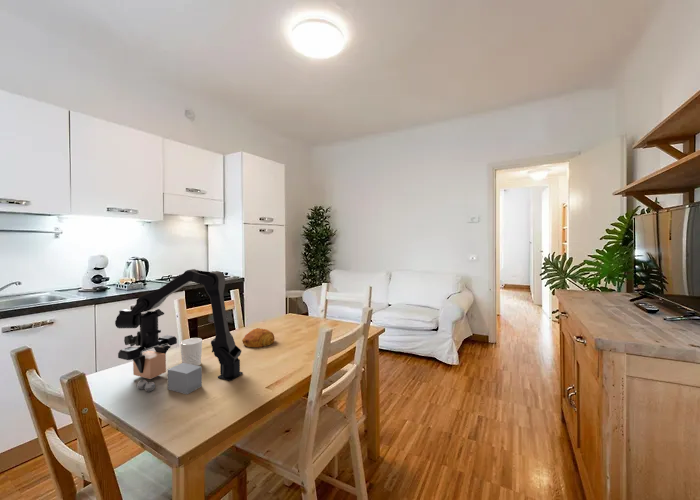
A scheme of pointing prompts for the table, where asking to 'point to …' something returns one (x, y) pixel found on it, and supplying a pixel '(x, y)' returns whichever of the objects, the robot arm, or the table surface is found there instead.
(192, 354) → the white cup
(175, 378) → the pale grey box
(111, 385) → the table surface
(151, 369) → the peach rectangular block
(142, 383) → the marble
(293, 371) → the table surface
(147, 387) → the marble
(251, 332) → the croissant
